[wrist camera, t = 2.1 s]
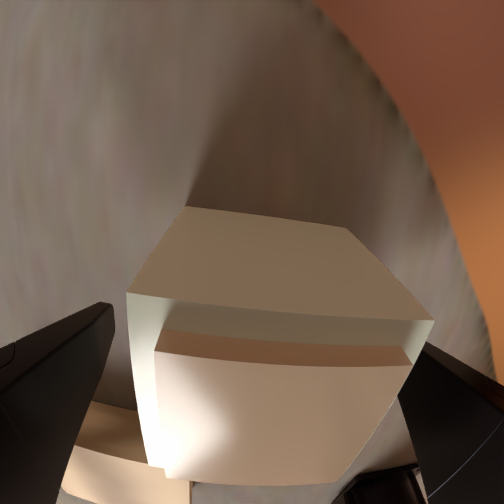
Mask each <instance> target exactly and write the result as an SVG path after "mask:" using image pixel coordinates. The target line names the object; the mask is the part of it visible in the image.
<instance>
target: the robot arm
mask: <svg viewBox="0 0 504 504" xmlns="http://www.w3.org/2000/svg"><path fill="white" fill-rule="evenodd" d="M114 334H115V319H114V309H113V305H112V304H110V303H105V302H98V303H96V304H94V305H92V306H89V307H87V308H85V309H83V310H81V311H79V312H76V313H74V314H72V315H70V316H68V317H66V318H64V319H61V320H59V321H57V322H55V323H53V324H51V325H49V326H46V327H44V328H42V329H40V330H38V331H36V332H34V333H32V334H30V335H27V336H25V337H23V338H21V339H19V340H17V341H16V342H13V343H11V344H8V345H6V346H4V347H2V348H0V504H56V501H57V497H58V494H59V490H60V487H61V484H62V481H63V477H64V474H65V471H66V468H67V465H68V462H69V459H70V456H71V454H72V451H73V448H74V445H75V442H76V440H77V437H78V434H79V431H80V429H81V426H82V423H83V421H84V418H85V416H86V413H87V411H88V408H89V405H90V403H91V400H92V398H93V396H94V393H95V391H96V388H97V386H98V383H99V381H100V379H101V376H102V373H103V370H104V367H105V364H106V360H107V357H108V353H109V350H110V347H111V344H112V340H113V337H114ZM397 396H398V400H399V403H400V406H401V409H402V412H403V415H404V418H405V421H406V424H407V427H408V430H409V434H410V437H411V440H412V444H413V447H414V450H415V454H416V457H417V461H418V464H415V465H411V466H407V467H402V468H398V469H393V470H388V471H383V472H377V473H372V474H365V475H360V476H358V477H356V478H355V479H354V480H353V481H352V482H351V483H350V484H349V486H348V487H347V488H346V489H345V490H344V491H343V492H342V493H341V494H340V495H339V497H338V498H337V499H336V500H335V501H334V502H333V503H332V504H426V502H425V499H424V497H423V494H422V492H421V489H420V487H419V484H418V482H417V479H416V476H417V475H418V474H419V473H420V472H421V476H422V479H423V483H424V487H425V491H426V495H427V498H428V499H427V500H428V504H504V386H503V385H501V384H499V383H497V382H496V381H494V380H492V379H490V378H489V377H487V376H485V375H483V374H482V373H480V372H478V371H477V370H475V369H473V368H471V367H470V366H468V365H466V364H465V363H463V362H461V361H459V360H458V359H456V358H454V357H452V356H451V355H449V354H447V353H446V352H444V351H442V350H440V349H439V348H437V347H435V346H433V345H432V344H430V343H428V342H425V344H424V346H423V348H422V350H421V352H420V354H419V356H418V358H417V360H416V362H415V364H414V366H413V367H412V369H411V371H410V373H409V375H408V377H407V379H406V380H405V382H404V384H403V386H402V387H401V389H400V391H399V393H398V394H397Z"/></svg>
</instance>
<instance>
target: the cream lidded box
mask: <svg viewBox="0 0 504 504" xmlns="http://www.w3.org/2000/svg"><path fill="white" fill-rule="evenodd" d="M126 302H127V318H128V332H129V343H130V353H131V362H132V371H133V379H134V386H135V394H136V400H137V407H138V413H139V419H140V424H141V430H142V435H143V440H144V445H145V450H146V455H147V460H148V464H149V465H151V466H156V467H162V468H165V473H166V477H167V478H173V479H180V480H187V481H195V482H205V483H215V484H229V485H254V486H281V485H305V484H319V483H330V482H337V481H338V479H339V478H340V477H341V476H342V474H343V473H344V472H345V471H346V470H347V469H348V467H349V466H350V465H351V463H352V462H353V461H354V459H355V458H356V457H357V455H358V454H359V453H360V451H361V450H362V448H363V447H364V446H365V444H366V443H367V441H368V440H369V438H370V437H371V436H372V434H373V433H374V431H375V430H376V428H377V427H378V425H379V424H380V422H381V420H382V419H383V417H384V416H385V414H386V413H387V411H388V409H389V408H390V406H391V404H392V403H393V401H394V399H395V398H396V396H397V394H398V393H399V391H400V389H401V387H402V386H403V384H404V382H405V380H406V379H407V377H408V375H409V373H410V371H411V369H412V367H413V366H414V364H415V362H416V360H417V358H418V356H419V354H420V352H421V350H422V348H423V346H424V344H425V342H426V340H427V337H428V335H429V333H430V331H431V329H432V327H433V324H434V322H435V320H434V318H433V317H432V316H431V315H430V314H429V313H428V312H427V311H426V310H425V308H424V307H423V306H422V305H421V304H420V303H419V302H418V301H417V300H416V299H415V297H414V296H413V295H412V294H411V293H410V292H409V291H408V290H407V289H406V288H405V287H404V286H403V285H402V284H401V283H400V281H399V280H398V279H397V278H396V277H395V276H394V275H393V274H392V273H391V272H390V271H389V270H388V269H387V268H386V267H385V266H384V265H383V264H382V263H381V262H380V261H379V260H378V259H377V258H376V257H375V256H374V255H373V254H372V253H371V252H370V251H369V250H368V249H367V248H366V247H365V246H364V245H363V244H362V243H361V242H360V241H359V240H358V239H357V238H356V237H355V236H354V235H353V234H352V233H351V232H350V231H349V230H348V229H347V228H343V227H337V226H331V225H324V224H318V223H311V222H304V221H297V220H290V219H283V218H276V217H269V216H261V215H254V214H246V213H239V212H231V211H223V210H214V209H206V208H198V207H189V206H184V208H183V209H182V211H181V212H180V213H179V215H178V216H177V218H176V219H175V220H174V222H173V223H172V225H171V226H170V227H169V229H168V230H167V232H166V233H165V235H164V236H163V237H162V239H161V240H160V242H159V243H158V245H157V246H156V248H155V249H154V250H153V252H152V253H151V255H150V256H149V258H148V259H147V261H146V262H145V264H144V265H143V267H142V268H141V270H140V271H139V273H138V274H137V276H136V277H135V279H134V281H133V282H132V284H131V285H130V287H129V288H128V290H127V291H126Z"/></svg>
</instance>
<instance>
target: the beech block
mask: <svg viewBox="0 0 504 504" xmlns="http://www.w3.org/2000/svg"><path fill="white" fill-rule="evenodd" d="M61 486H62V488H63V489H64V490H65V491H66V493H68V494H71V495H74V496H77V497H80V498H83V499H86V500H89V501H92V502H95V503H98V504H191V501H192V489H193V481H187V480H180V479H173V478H167V477H166V473H165V468H162V467H156V466H151V465H149V464H148V460H147V455H146V450H145V445H144V440H143V435H142V430H141V424H140V419H139V413H138V411H133V410H129V409H124V408H119V407H115V406H111V405H107V404H103V403H99V402H95V401H91V403H90V405H89V408H88V411H87V413H86V416H85V418H84V421H83V423H82V426H81V429H80V431H79V434H78V437H77V440H76V442H75V445H74V448H73V451H72V454H71V456H70V459H69V462H68V465H67V468H66V471H65V474H64V477H63V481H62V484H61Z"/></svg>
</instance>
